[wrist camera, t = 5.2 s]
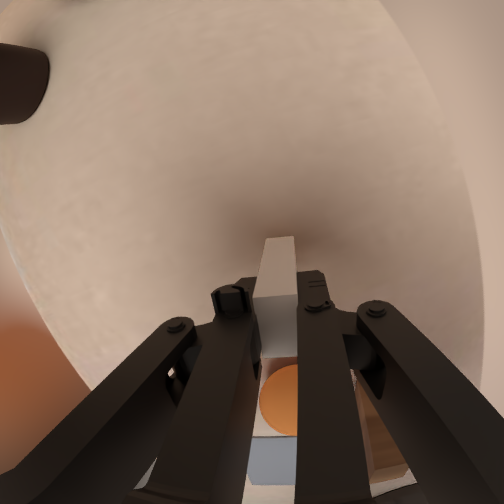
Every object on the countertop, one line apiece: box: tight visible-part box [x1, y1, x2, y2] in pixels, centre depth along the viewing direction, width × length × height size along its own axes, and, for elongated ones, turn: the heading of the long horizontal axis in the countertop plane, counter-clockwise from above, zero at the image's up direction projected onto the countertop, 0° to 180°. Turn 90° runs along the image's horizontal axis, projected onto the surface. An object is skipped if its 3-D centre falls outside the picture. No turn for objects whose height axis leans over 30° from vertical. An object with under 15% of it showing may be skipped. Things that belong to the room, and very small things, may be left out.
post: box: [355, 379, 409, 484], centre depth 17 cm, size 3×3×9 cm
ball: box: [259, 364, 298, 436], centre depth 19 cm, size 6×6×6 cm
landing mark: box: [247, 436, 297, 485], centre depth 26 cm, size 14×14×1 cm
